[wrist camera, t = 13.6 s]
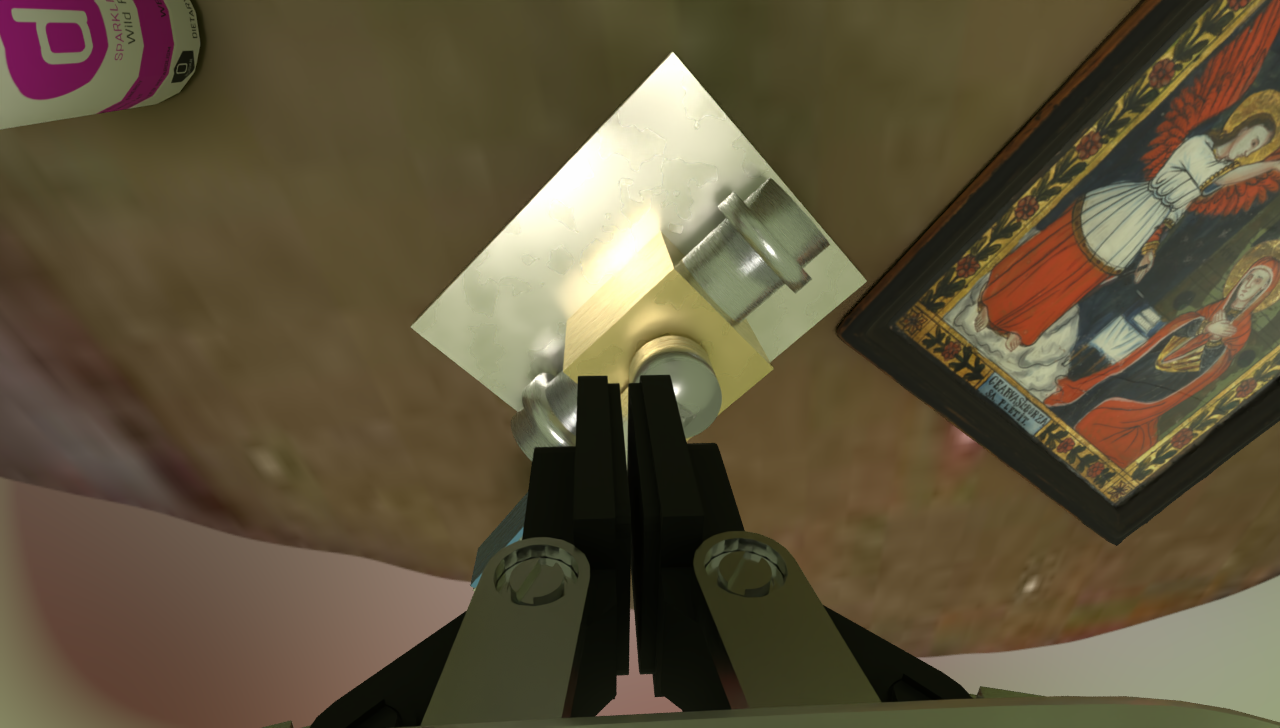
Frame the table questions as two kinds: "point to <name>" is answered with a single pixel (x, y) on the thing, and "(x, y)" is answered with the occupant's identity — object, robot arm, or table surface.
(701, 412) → the lever
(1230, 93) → the religious icon
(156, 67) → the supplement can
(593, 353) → the valve
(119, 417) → the table surface
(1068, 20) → the table surface
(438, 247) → the table surface
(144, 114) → the table surface
